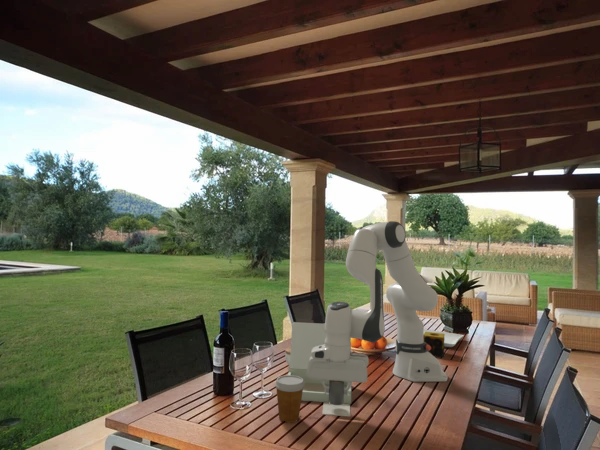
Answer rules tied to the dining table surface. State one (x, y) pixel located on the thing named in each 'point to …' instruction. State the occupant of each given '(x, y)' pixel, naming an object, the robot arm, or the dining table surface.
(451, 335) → the square plate
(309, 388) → the pale grey-green hollow box
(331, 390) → the nursery pot
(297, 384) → the disposable coffee cup
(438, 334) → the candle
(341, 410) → the stone tile
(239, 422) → the dining table surface
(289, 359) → the lidded jar
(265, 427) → the dining table surface
